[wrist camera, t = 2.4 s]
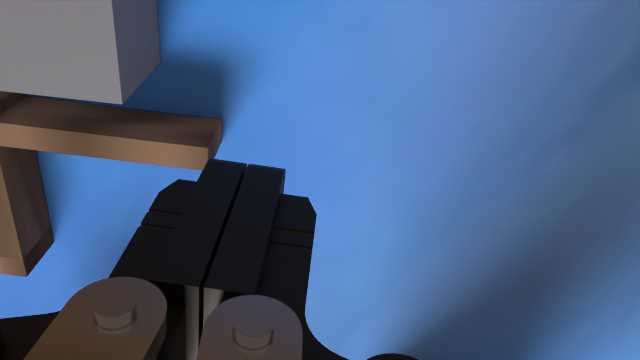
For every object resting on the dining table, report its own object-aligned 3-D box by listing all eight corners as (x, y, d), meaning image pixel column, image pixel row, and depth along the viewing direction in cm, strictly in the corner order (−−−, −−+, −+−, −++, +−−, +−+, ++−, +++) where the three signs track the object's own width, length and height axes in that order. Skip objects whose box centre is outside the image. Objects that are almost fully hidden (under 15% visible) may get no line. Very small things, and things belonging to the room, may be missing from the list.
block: (152, -77, 22) (105, -60, 18) (161, 62, 26) (122, 104, 21) (9, -93, 22) (-72, -79, 18) (35, 48, 26) (-29, 87, 21)
